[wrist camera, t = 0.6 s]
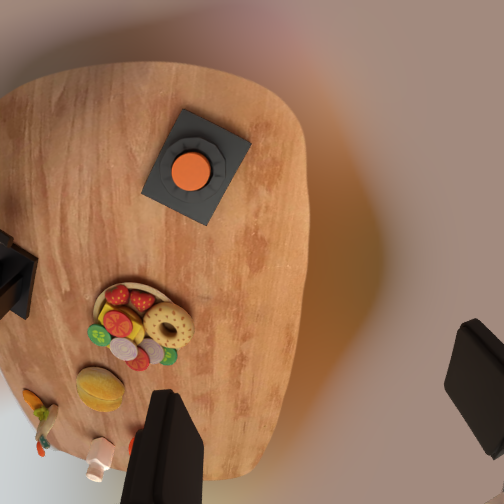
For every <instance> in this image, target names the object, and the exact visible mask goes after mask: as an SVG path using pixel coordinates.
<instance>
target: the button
mask: <svg viewBox="0 0 504 504" xmlns="http://www.w3.org/2000/svg"><path fill="white" fill-rule="evenodd" d="M210 172H211V167H210V163H209V161H208V160H207V158H206V157H205V156H204V155H202V154H200V153H197V152H188V153H185V154H183V155H182V156H180V157H179V158H177V159H176V161H175V162H174V164H173V166H172V178H173V180H174V182H175V184H176V185H177V186H178V187H180V188H181V189H183V190H187V191H194V190H197V189H200V188H201V187H203V186H204V185H205V183H206V182H207V180H208V178H209V176H210Z"/></svg>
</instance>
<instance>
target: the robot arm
mask: <svg viewBox="0 0 504 504" xmlns="http://www.w3.org/2000/svg"><path fill="white" fill-rule="evenodd" d="M444 387H445V390H446V392H447V394H448V395H449V397H450V398H451V400H452V401H453V403H454V404H455V406H456V407H457V409H458V410H459V412H460V413H461V415H462V416H463V418H464V419H465V421H466V422H467V424H468V426H469V427H470V429H471V430H472V432H473V434H474V435H475V437H476V438H477V440H478V441H479V443H480V445H481V446H482V448H483V450H484V451H485V453H486V454H487V455H491V457H492V458H493V460H495V459H497V458H498V457H500V456H501V455H503V454H504V344H503V343H502V342H501V341H500V340H499V339H498V338H497V337H496V336H495V335H494V334H493V333H492V332H491V331H490V330H489V329H488V328H487V327H486V326H485V325H484V324H483V323H482V322H481V321H480V320H478V319H476V318H475V319H472V320H469V321H467V322H464V323H462V324H461V326H460V329H458V331H457V335H456V339H455V344H454V348H453V352H452V356H451V360H450V364H449V368H448V371H447V375H446V378H445V382H444ZM203 459H204V445H203V441H202V439H201V437H200V435H199V433H198V431H197V429H196V427H195V425H194V423H193V421H192V419H191V417H190V415H189V413H188V411H187V409H186V407H185V405H184V403H183V401H182V399H181V397H180V395H179V394H178V393H174V392H173V390H171V389H167V390H154V391H153V392H152V395H151V399H150V404H149V408H148V412H147V416H146V421H145V425H144V429H143V430H138V431H137V432H136V435H135V438H134V442H133V446H132V450H131V455H130V459H129V464H128V468H127V473H126V477H125V482H124V487H123V492H122V497H121V502H120V504H202V482H203ZM485 504H504V483H503V488H502V492H501V494H499V495H498V496H496V497H494V498H493V499H491V500H490V501H488V502H486V503H485Z"/></svg>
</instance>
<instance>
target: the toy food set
mask: <svg viewBox="0 0 504 504" xmlns="http://www.w3.org/2000/svg"><path fill="white" fill-rule="evenodd" d="M93 318H94V324H92V325H91V326H90V327H89V328H88V336H89V338H90V340H91V341H92V342H93V343H95V344H96V345H98V346H107V347H108V348H110V350H111V352H112V353H113V354H114V355H115V356H116V357H117V358H119V359H121V360H125V362H126V364H127V365H128V366H129V367H130V368H131V369H133V370H136V371H143V370H145V369H147V368H148V366H149V363H151V364H157V363H161V364H163V365H172V364H173V363H175V362H176V360H177V351H178V350H179V349H180V348H181V347H184V346H185V345H187V344H188V343H189V342H190V340H191V339H192V337H193V334H194V323H193V320H192V318H191V317H190V315H189V314H188V313H187V312H186V311H185V310H184V309H183V308H181V307H180V306H178V305H175V304H174V303H173V302H172V301H171V300H170V299H169V298H168V297H167V296H166V295H164V294H163V293H161V292H160V291H158V290H157V289H154V288H152V287H150V286H147V285H144V284H140V283H133V282H125V283H119V284H116V285H113V286H111V287H109V288H107V289H106V290H104V291H103V292H102V293H101V294H100V295H99V297H98V298H97V300H96V302H95V305H94V311H93Z"/></svg>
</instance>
